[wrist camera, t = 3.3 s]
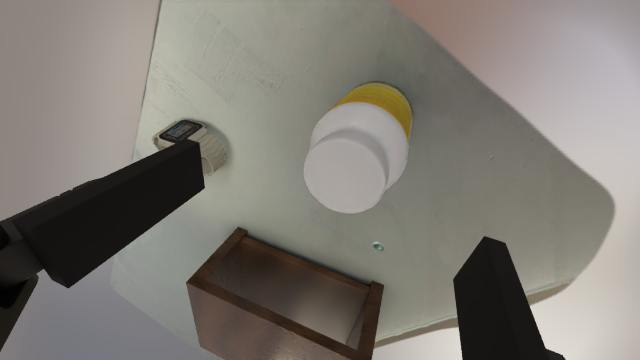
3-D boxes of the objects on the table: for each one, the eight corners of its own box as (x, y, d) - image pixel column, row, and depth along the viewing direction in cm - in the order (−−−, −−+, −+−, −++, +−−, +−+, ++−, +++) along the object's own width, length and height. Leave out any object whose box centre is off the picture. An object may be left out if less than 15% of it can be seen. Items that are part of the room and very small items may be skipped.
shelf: (384, 285, 34) (370, 369, 25) (355, 342, 42) (338, 419, 34) (238, 226, 38) (185, 282, 30) (239, 290, 47) (199, 346, 39)
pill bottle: (354, 69, 22) (300, 100, 13) (427, 94, 21) (428, 149, 12) (333, 136, 26) (279, 199, 16) (395, 160, 25) (376, 242, 15)
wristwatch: (229, 127, 30) (198, 143, 26) (235, 174, 33) (208, 195, 29) (166, 113, 32) (128, 125, 28) (177, 158, 35) (145, 175, 31)
